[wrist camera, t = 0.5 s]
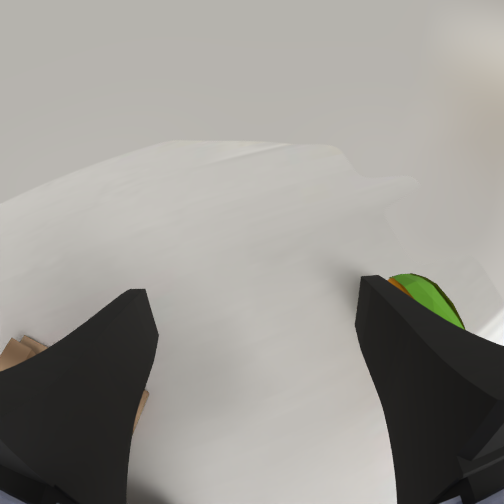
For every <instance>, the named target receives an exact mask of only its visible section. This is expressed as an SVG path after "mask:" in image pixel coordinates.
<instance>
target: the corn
mask: <svg viewBox="0 0 504 504" xmlns="http://www.w3.org/2000/svg"><path fill="white" fill-rule="evenodd" d="M389 278H390V279H389V280H388V281H389V282H390V283H391V284H393V285H394V286H396V287H397V288H399V289H400V290H402V291H403V292H404V293H406V294H407V295H409V296H410V297H412V298H413V299H414V300H416V301H417V302H419V303H420V304H422V305H423V306H425V307H426V308H428V309H429V310H431V311H433V312H434V313H436V314H437V315H439V316H441V317H442V318H444V319H446V320H447V321H449V322H451V323H453V324H455V325H457V326H458V327H460V328H462V329H464V330H465V327H464V325H463V322H462V320H461V318H460V316H459V314H458V312H457V310H456V308H455V306H454V304H453V303H452V302H451V300H450V299H449V298H448V297H447V296H446V294H445V293H444V292H443V291H442V290H441V288H440V287H439V286H438V285H437V284H436V283H434V282H432V281H431V280H429V279H427V278H426V277H423V276H419V275H416V274H412V273H411V274H400V275H396V276H392V277H389Z"/></svg>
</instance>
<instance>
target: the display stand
mask: <svg viewBox="0 0 504 504" xmlns="http://www.w3.org/2000/svg"><path fill="white" fill-rule="evenodd" d="M45 349H47V347H45V346H43V345H42V344H40V343H38V342H36V341H34V340H32V339H30V338H29V337H27V336H25V335H24V337H23V338H22V340H21V342H18V341H17V340H15V339H13V338H11V339H10V341H9V343H8V344H7V346H6V347H5V349H4V351H3V352H2V354H1V356H0V371H3V370H5V369H8V368H10V367H12V366H15V365H17V364H19V363H21V362H23V361H25V360H27V359H29V358H31V357H33V356H35V355H37V354H39V353H40V352H42V351H44V350H45ZM148 396H149V393H148V391H145V390H144V392H143V395H142V398H141V401H140V404H139V407H138V410H137V414H136V418H135V422H134V428H133V432H134V430H135V427H136V425H137V422H138V420H139V417H140V415H141V412H142V410H143V408H144V405H145V403H146V400H147V398H148ZM132 435H133V433H132Z"/></svg>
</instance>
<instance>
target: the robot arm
mask: <svg viewBox="0 0 504 504" xmlns="http://www.w3.org/2000/svg"><path fill="white" fill-rule="evenodd" d="M355 328H356V332H357V336H358V341H359V344H360V348H361V351H362V354H363V357H364V359H365V362H366V364H367V367H368V369H369V372H370V375H371V377H372V380H373V382H374V385H375V388H376V390H377V393H378V396H379V398H380V401H381V404H382V407H383V411H384V415H385V419H386V424H387V428H388V433H389V438H390V444H391V449H392V455H393V462H394V470H395V479H396V491H397V504H504V346H502V345H499V344H496V343H494V342H491V341H489V340H486V339H484V338H481V337H479V336H477V335H475V334H472V333H470V332H468V331H466V330H464V329H462V328H460V327H458V326H457V325H455V324H453V323H451V322H449V321H447V320H446V319H444V318H442V317H441V316H439V315H437V314H436V313H434V312H433V311H431V310H429V309H428V308H426V307H425V306H423V305H422V304H420V303H419V302H417V301H416V300H414V299H413V298H412V297H410V296H409V295H407V294H406V293H404V292H403V291H402V290H400V289H399V288H397V287H396V286H394V285H393V284H391V283H390V282H389V281H387V280H385V279H384V278H382V277H381V276H379V275H373V276H361V281H360V290H359V298H358V306H357V313H356V320H355ZM158 337H159V334H158V331H157V328H156V324H155V321H154V318H153V314H152V311H151V308H150V304H149V301H148V297H147V293H146V290H145V289H129V290H127V291H126V292H124V293H123V294H121V295H120V296H118V297H117V298H116V299H115V300H113V301H112V302H111V303H109V304H108V305H107V306H106V307H104V308H103V309H102V310H100V311H99V312H98V313H97V314H95V315H94V316H93V317H92V318H90V319H89V320H88V321H86V322H85V323H84V324H82V325H81V326H80V327H78V328H77V329H75V330H74V331H73V332H71V333H70V334H69V335H67V336H66V337H64V338H63V339H61V340H60V341H58V342H57V343H55V344H54V345H52V346H50V347H49V348H47V349H45V350H44V351H42V352H40V353H39V354H37V355H35V356H33V357H31V358H29V359H27V360H25V361H23V362H21V363H19V364H17V365H15V366H12V367H10V368H8V369H5V370H3V371H0V504H126V488H127V473H128V462H129V453H130V446H131V439H132V433H133V428H134V422H135V418H136V414H137V410H138V407H139V404H140V401H141V398H142V395H143V392H144V389H145V386H146V383H147V380H148V377H149V374H150V371H151V368H152V365H153V362H154V358H155V353H156V348H157V343H158Z"/></svg>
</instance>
